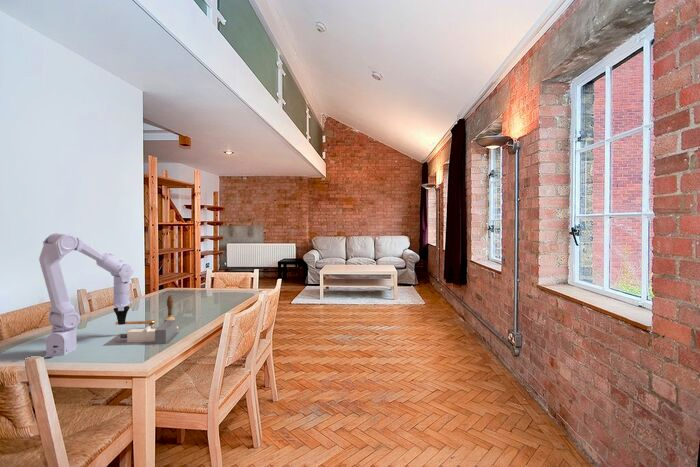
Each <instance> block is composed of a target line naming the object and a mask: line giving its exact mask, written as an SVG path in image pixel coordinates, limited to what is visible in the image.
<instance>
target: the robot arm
mask: <svg viewBox="0 0 700 467" xmlns="http://www.w3.org/2000/svg"><path fill="white" fill-rule="evenodd" d="M42 243H43V246H42V249H41V252H40V254H39V258H38V260H39V266H40V268H41V271H42V276H43V279H44V283H45V286H46V289H47V293H48V294H47V295H48V297H49V300H50V304H51V306H50V307H49V311H48V312H49V316H48V322H49V324H50V325H52V328H51V333H50V334H49V335H48V337H47V338H46V340H45V345H46V346H45V348H46V350H45V351H46V353H45V355H43V358H53V357H56V356H57V357H58V356H59V357H60V356H66V355H67V354H69V353H71V352H74V351H76V350H77V337H78V335H77V330H78V329H77V326H78V325H79V324H80V321H81V316H80V314H79V313H78V312H77V311H76V308H75V307H74V305H73V304H72V303H71V302H70V297H69V294H68V289H67V286H66V283H65V279H64V278H65V277H64V275H63V271H62V267H61V264H60V261H61V260H62V259H63V258H64V257H65V256H66V255H68V254H70V253H71V252H73V251H75V252H76V251H77V252H79V253H81V254H83V255H85V256H87V257H89V258H91V259H93V260H94V261H96V265H97V266H98V267H99V268H101V269H104V270H105V271H107V272H108V273H110V275H111V276H113V302H112V306H113V307H114V308H113V312H114V313H115V315H116V320H117V322H118V324H119V325H118V326H123V325H126V324H125V322H126V318H127V315H128V313H129V310H130V306H129V305H133V303H134V302H133V301H131V300H130V297H131V296H130V290H131V287H130V285H131V282H130V281H131V276H132V275H133V274H134V270H133V268H132V267H131V265H130V264H128V263H127V264H125V263H123V261H122V260H121V259H117V258H116V257H115V256H114V254H112V253H107V252H106V253H102V252H100V251H99V250H97V249H95V248H94V247H93V246H91V244H88V243H87V242H85V241H84V240H82V239H81V238H80V237H76V236H75V235H73V234H71V233H67V234H65V233H56V232H55V233H52V234H49V235H48V237H46V238H45V239H43V241H42Z"/></svg>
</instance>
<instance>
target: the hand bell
mask: <svg viewBox="0 0 700 467" xmlns="http://www.w3.org/2000/svg"><path fill="white" fill-rule="evenodd" d="M166 305H167V306H166V307H167V317H165V318H164V321H163V323H165V322H166V321H167V320H176V318H175V317H174V316H173V307H174V306H173V305H174V299H173V296H172V295H171V294H169V295H168V296H167V300H166ZM178 329H179V326H178V325H177V330H178Z"/></svg>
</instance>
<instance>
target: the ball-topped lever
mask: <svg viewBox="0 0 700 467" xmlns="http://www.w3.org/2000/svg"><path fill="white" fill-rule="evenodd" d="M155 323H156V320H155V319H153V320H152V319H150V320H136V321H135V320H134V321H133V320H131V321H125V324H124V325H143V324H144V325H147V324H148V325H149V324H154V325H155ZM115 325H118V326H120V325H119V324H118V321H116V322H115Z"/></svg>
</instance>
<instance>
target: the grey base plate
mask: <svg viewBox="0 0 700 467" xmlns="http://www.w3.org/2000/svg"><path fill="white" fill-rule="evenodd" d="M148 325H149V326H151V329H156V330H155V342H128V343H127V338H120V336H121V334H122V333H119V334H117V335H115V337H113V338H111V339H110V340H108V341H107V342H105V343H104V344H103V345H102V347H104V346H106V347H107V346H109V347H110V346H138V345H139V346H140V345H167V344H170V343H171V342H172V341H173V340H174V339H175V338H176V337H177V335H179V334H180V332H179V331H178V329H177V326H178V320H176V319H175V320H167V321H166V322H165V323H164V322H163V323H162V324H161V325H160V326H158V327H157V328H155V323H154V324H148Z"/></svg>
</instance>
